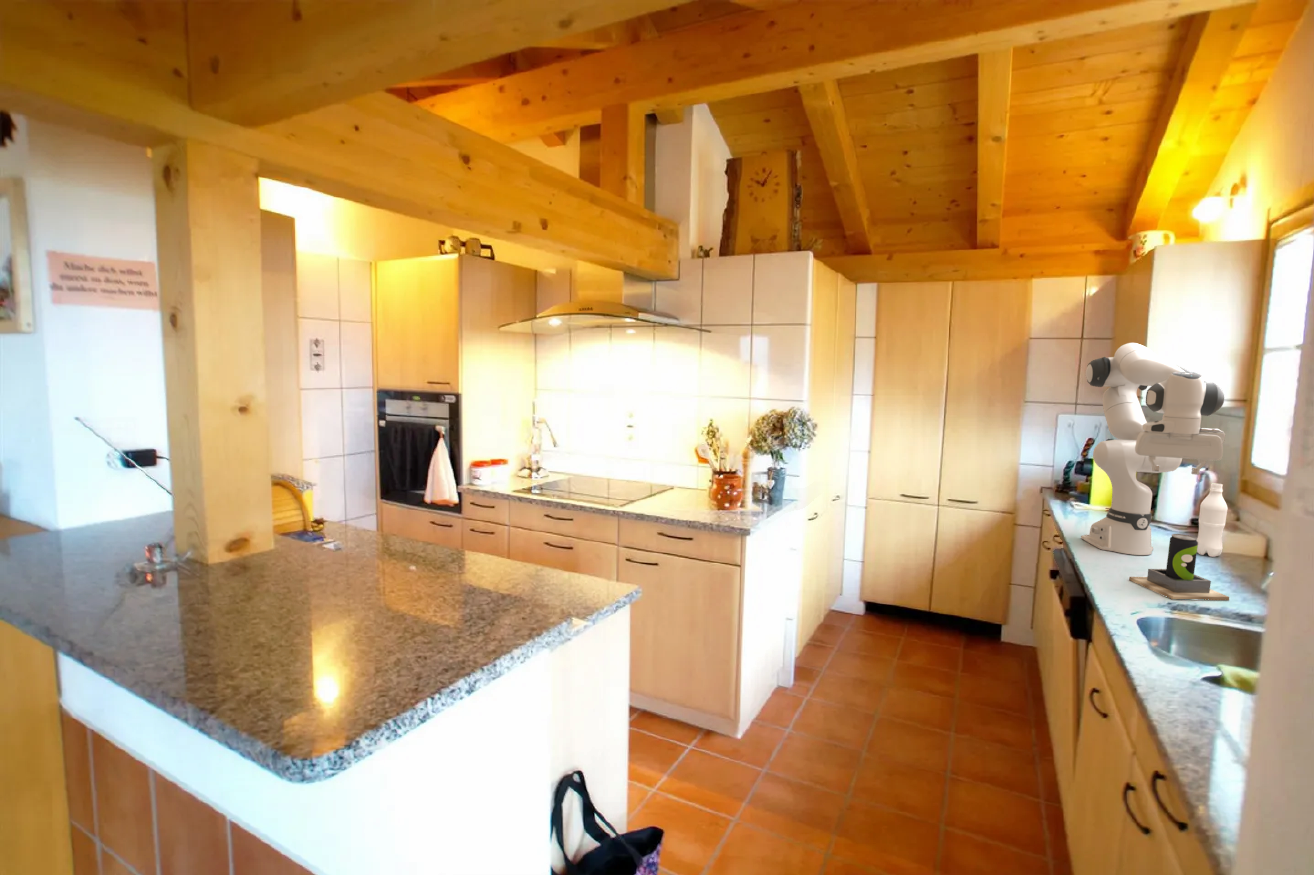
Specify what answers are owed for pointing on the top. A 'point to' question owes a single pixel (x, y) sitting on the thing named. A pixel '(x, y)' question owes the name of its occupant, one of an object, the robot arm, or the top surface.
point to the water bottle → (1212, 522)
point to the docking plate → (1163, 591)
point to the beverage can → (1181, 557)
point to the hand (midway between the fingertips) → (1174, 472)
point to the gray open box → (1178, 582)
